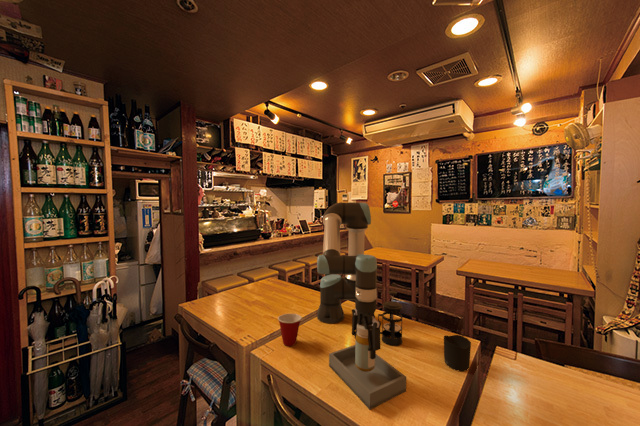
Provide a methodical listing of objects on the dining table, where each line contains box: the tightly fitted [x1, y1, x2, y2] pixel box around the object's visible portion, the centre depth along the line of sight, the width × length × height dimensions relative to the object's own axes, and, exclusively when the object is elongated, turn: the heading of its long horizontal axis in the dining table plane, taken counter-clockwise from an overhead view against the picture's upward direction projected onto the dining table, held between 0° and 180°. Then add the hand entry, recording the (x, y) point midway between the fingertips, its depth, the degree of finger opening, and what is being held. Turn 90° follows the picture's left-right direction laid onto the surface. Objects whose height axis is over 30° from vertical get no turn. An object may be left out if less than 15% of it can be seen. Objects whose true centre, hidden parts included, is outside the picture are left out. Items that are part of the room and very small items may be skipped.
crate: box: [328, 344, 407, 410], centre depth 92 cm, size 16×24×5 cm, turn 29°
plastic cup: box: [277, 313, 302, 347], centre depth 115 cm, size 11×11×12 cm
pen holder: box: [443, 334, 472, 372], centre depth 99 cm, size 9×9×10 cm
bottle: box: [354, 324, 375, 372], centre depth 91 cm, size 7×7×15 cm
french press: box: [377, 290, 404, 347], centre depth 117 cm, size 12×9×23 cm
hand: (365, 361), depth 91 cm, fingers closed on bottle, 6 cm apart
